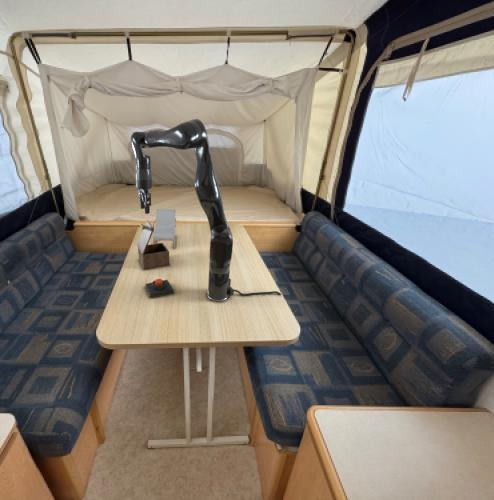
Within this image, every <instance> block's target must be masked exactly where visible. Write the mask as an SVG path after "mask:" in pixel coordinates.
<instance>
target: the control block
mask: <svg viewBox="0 0 494 500" xmlns="http://www.w3.org/2000/svg"><path fill="white" fill-rule="evenodd" d="M162 280H163V284H162V285H160V286H157V285H155V280H153V281H152V282H147V283H145V285H144V286H145V289H146V292H147V294H148V296H149V298H150V299H152V298H156V297H160V296H166V295H170V294H173V293H174V288H173V286H172V285H171V284H170V282H169V280H168V279H162Z"/></svg>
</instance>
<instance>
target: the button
mask: <svg viewBox="0 0 494 500" xmlns="http://www.w3.org/2000/svg"><path fill="white" fill-rule="evenodd" d="M163 280H164V279H162V278H156V279H155V280H154V281H155V285H157V286H160V285H162V284H163Z"/></svg>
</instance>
